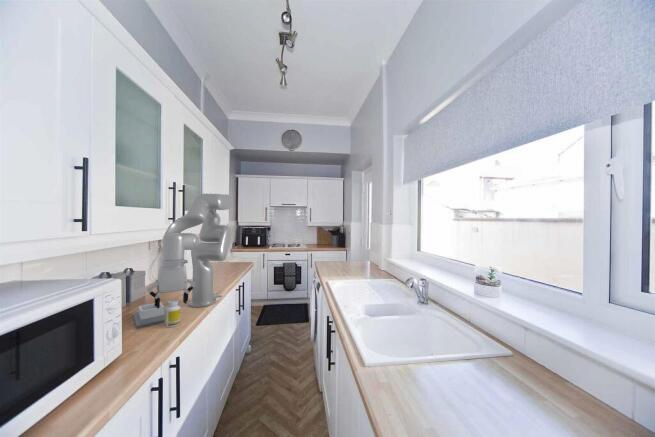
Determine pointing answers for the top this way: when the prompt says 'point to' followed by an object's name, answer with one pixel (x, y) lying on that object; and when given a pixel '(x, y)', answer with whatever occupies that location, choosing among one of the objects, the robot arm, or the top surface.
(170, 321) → the supplement bottle
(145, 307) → the collar stand
